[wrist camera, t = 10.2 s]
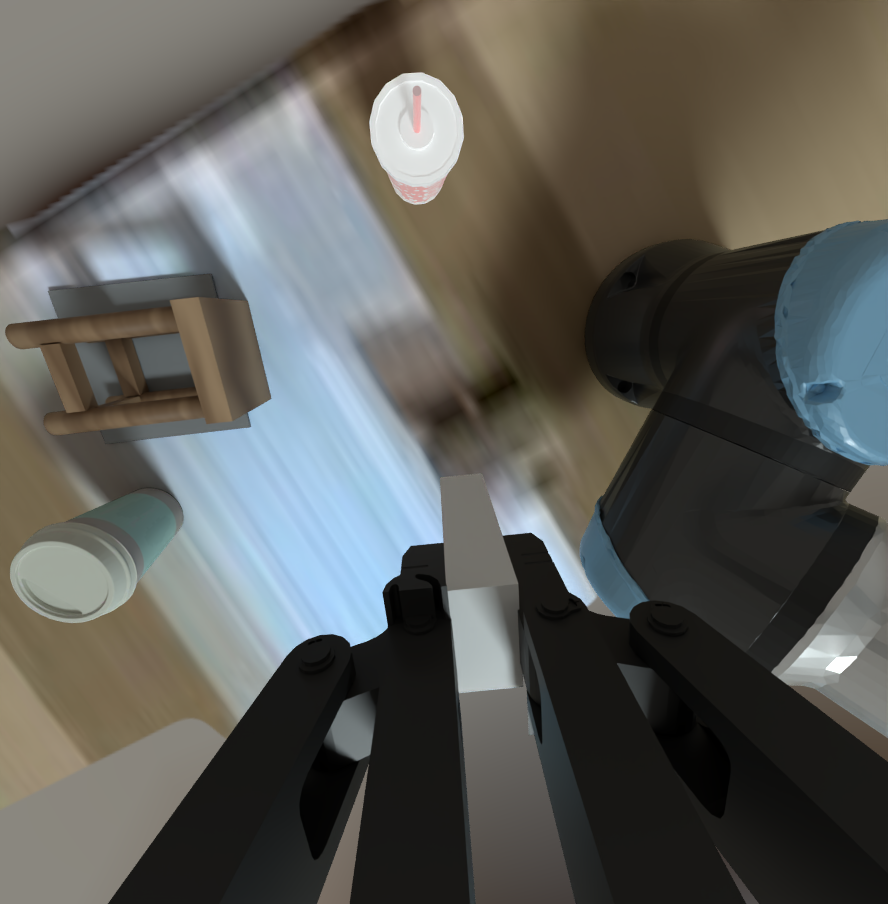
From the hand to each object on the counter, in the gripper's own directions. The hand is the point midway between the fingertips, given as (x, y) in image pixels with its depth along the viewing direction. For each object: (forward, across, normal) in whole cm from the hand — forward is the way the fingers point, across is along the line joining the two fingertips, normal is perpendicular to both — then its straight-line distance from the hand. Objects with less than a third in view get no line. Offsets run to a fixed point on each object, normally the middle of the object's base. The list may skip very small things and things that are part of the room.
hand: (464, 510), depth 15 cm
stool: (+23, +17, -5) cm, 28 cm away
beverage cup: (+28, 0, -18) cm, 33 cm away
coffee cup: (+27, +31, +10) cm, 42 cm away
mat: (+27, +26, -5) cm, 38 cm away
